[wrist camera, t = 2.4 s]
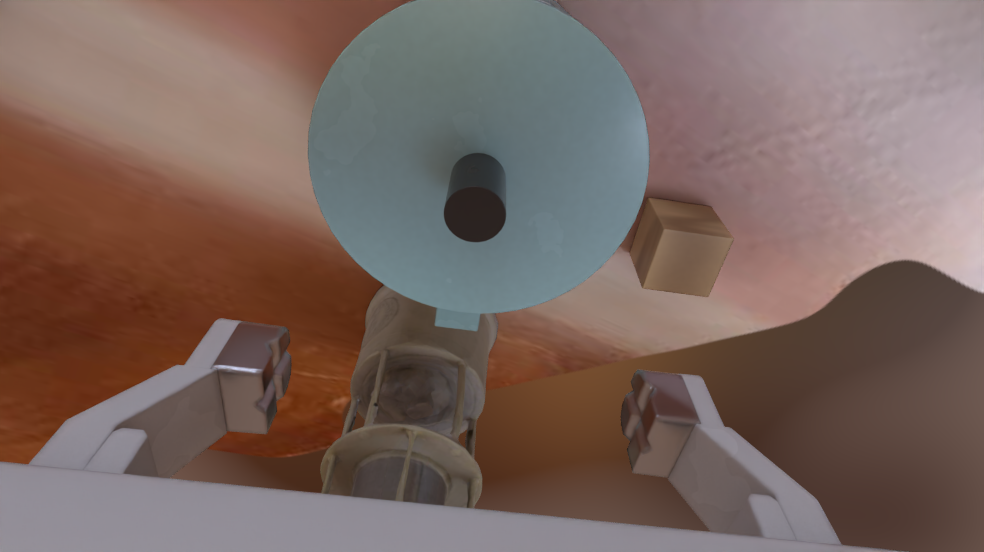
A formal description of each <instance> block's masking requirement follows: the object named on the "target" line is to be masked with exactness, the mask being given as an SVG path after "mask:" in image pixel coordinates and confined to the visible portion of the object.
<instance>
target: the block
mask: <svg viewBox="0 0 984 552" xmlns="http://www.w3.org/2000/svg"><path fill="white" fill-rule="evenodd" d="M733 240H734V238H733V237H732V235H731V234H730V232H729V231H728V230H727V228H726V227H725V225H724V224H723V223H722V221H721V220H720V218H719V217H718V215H717V214H716V213H715V211H714V210H713V208H712V207H709V206H703V205H696V204H689V203H682V202H675V201H668V200H662V199H655V198H648V199H647V202H646V205H645V208H644V211H643V214H642V217H641V220H640V223H639V226H638V229H637V232H636V235H635V238H634V241H633V244H632V247H631V250H630V256H631V259H632V261H633V264H634V267H635V269H636V272H637V275H638V278H639V280H640V283H641V286H642V288H644V289H652V290H659V291H666V292H674V293H681V294H688V295H696V296H703V297H708V296H709V294H710V292H711V289H712V287H713V285H714V283H715V280H716V278H717V276H718V274H719V271H720V269H721V267H722V265H723V262H724V260H725V258H726V256H727V253H728V251H729V249H730V247H731V244H732V242H733Z"/></svg>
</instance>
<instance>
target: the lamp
mask: <svg viewBox="0 0 984 552" xmlns="http://www.w3.org/2000/svg"><path fill="white" fill-rule="evenodd" d="M435 315H436V307H433V306H429V305H426V304H422V303H420V302H417V301H415V300H413V299H410V298H408V297H405V296H403V295H401V294H400V293H398V292H396V291H394V290H392V289H390V288H389V287H387V286H385V285H384V286H382V287H381V288H380V289H379V290H378V291H377V293H376V294H375V296H374V297H373V299H372V300H371V302H370V304H369V307H368V310H367V312H366V319H365V327H366V331H365V334H364V337H363V341H362V344H361V351H360V354H359V357H358V361H357V364H356V367H355V370H354V373H353V375H352V379H351V390H350V392H351V397H352V402H351V406H350V409H349V412H348V415H347V417H346V420H345V424H344V429H343V432H342V436H341V437H340V438H339V439H338V440H337V441H335V442H334V443H333V444H332V445H331V447H330V448H329V449H328V450H327V451H326V453H325V455H324V458H323V461H322V464H321V471H320V472H321V477H322V481H323V483H324V485H323V488H322V492H321V494H331V495H342V496H352V497H362V498H372V499H382V500H392V501H402V502H413V503H423V504H433V505H443V506H453V507H463V508H474V505H475V504H476V502H477V500H478V499H479V497H480V494H481V491H482V475H481V471H480V468H479V466H478V464H477V463H476V461H475V460H474V449H475V433H476V420H477V419H478V417H479V415H480V414H481V412H482V410H483V406H484V402H485V388H486V375H487V366H488V356H489V352H490V350H491V348H492V346H493V344H494V342H495V340H496V337H497V330H498V322H497V319H496V316H495V314H494V313H482V314H481V315H480V321H479V326H478V330H477V331H470V330H462V329H454V328H446V327H439V326H435V324H434V323H435ZM357 410H358V412H359V413H360V415H361V416H362V417H363V418H364V419H365V424H364V427H362V428H359V429H356V430H353V431H352V427H353V426H354V423H355V418H356V413H357ZM466 429H467V434H466V440H465V443H466V449H465V448H464V447H463V446H462V445H461V444H460V443H459V441H458V437H459V434H461V433H462V432H464V431H465V430H466Z"/></svg>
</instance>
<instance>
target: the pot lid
mask: <svg viewBox="0 0 984 552" xmlns="http://www.w3.org/2000/svg"><path fill="white" fill-rule="evenodd" d="M308 160H309V170H310V177H311V181H312V185H313V189H314V193H315V196H316V199H317V202H318V204H319V207H320V209H321V212H322V214H323V216H324V218H325V220H326V222H327V224H328V226H329V227H330V229H331V231H332V233H333V234H334V236H335V237H336V238H337V240H338V241H339V243H340V244H341V245H342V247H343V248H344V249H345V250H346V252H347V253H348V254H349V255H350V256H351V257H352V258H353V259H354V260H355V262H356V263H357V264H359V265H360V266H361V267H362V268H363V269H364V270H365V271H367V272H368V273H369V274H370V275H371V276H372V277H374V278H375V279H377V280H378V281H380V282H381V283H383V284H384V285H385V286H387V287H389V288H390V289H392V290H394V291H396V292H398V293H400V294H401V295H403V296H405V297H408V298H410V299H413V300H415V301H417V302H420V303H422V304H426V305H429V306H433V307H436V308H439V309H444V310H450V311H455V312H463V313H476V314H482V313H501V312H509V311H516V310H520V309H524V308H528V307H532V306H535V305H538V304H541V303H544V302H546V301H549V300H552V299H554V298H556V297H558V296H560V295H562V294H564V293H566V292H568V291H570V290H571V289H573V288H574V287H576V286H577V285H579V284H581V283H582V282H584V281H585V280H586V279H588V278H589V277H590V276H591V275H592V274H594V273H595V272H596V271H597V270H598V269H600V268H601V267H602V266H603V264H604V263H605V262H606V261H607V260H608V259H609V258H610V257H611V256H612V255H613V254H614V253H615V251H616V250H617V248H618V247H619V246H620V244H621V243H622V242H623V240H624V239H625V237H626V236H627V234H628V232H629V230H630V228H631V227H632V225H633V223H634V221H635V219H636V217H637V214H638V212H639V209H640V207H641V204H642V201H643V197H644V193H645V189H646V185H647V180H648V171H649V162H650V157H649V137H648V131H647V125H646V119H645V116H644V112H643V109H642V106H641V103H640V100H639V97H638V95H637V93H636V91H635V89H634V87H633V85H632V83H631V81H630V79H629V77H628V75H627V73H626V72H625V70H624V69H623V67H622V66H621V65H620V63H619V62H618V60H617V59H616V57H615V56H614V55H613V53H612V52H611V51H610V50H609V49H608V48H607V47H606V46H605V45H604V43H603V42H602V41H601V40H600V39H599V38H598V37H597V36H596V35H595V34H594V33H593V32H591V31H590V30H589V29H588V28H586V27H585V26H584V25H583V24H581V23H580V22H579V21H578V20H576V19H575V18H573V17H571V16H570V15H568V14H566V13H564V12H563V11H561V10H559V9H558V8H556V7H554V6H552V5H549V4H547V3H544V2H542V1H539V0H413V1H410V2H407V3H405V4H403V5H401V6H399V7H397V8H395V9H394V10H392V11H390V12H388V13H386V14H384V15H383V16H381V17H380V18H379V19H377V20H376V21H375V22H373V23H372V24H371V25H369V26H368V27H367V28H365V29H364V30H363V31H362V32H361V33H360V34H359V35H358V36H357V37H356V38H355V39H354V40H353V41H352V42H351V43H350V44H349V45H348V46H347V47H346V48H345V49H344V50H343V52H342V53H341V54H340V56H339V57H338V59H337V60H336V61H335V63H334V64H333V65H332V67H331V68H330V70H329V72H328V74H327V76H326V78H325V80H324V82H323V84H322V86H321V88H320V90H319V93H318V96H317V99H316V102H315V105H314V108H313V111H312V116H311V122H310V127H309V136H308Z"/></svg>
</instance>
